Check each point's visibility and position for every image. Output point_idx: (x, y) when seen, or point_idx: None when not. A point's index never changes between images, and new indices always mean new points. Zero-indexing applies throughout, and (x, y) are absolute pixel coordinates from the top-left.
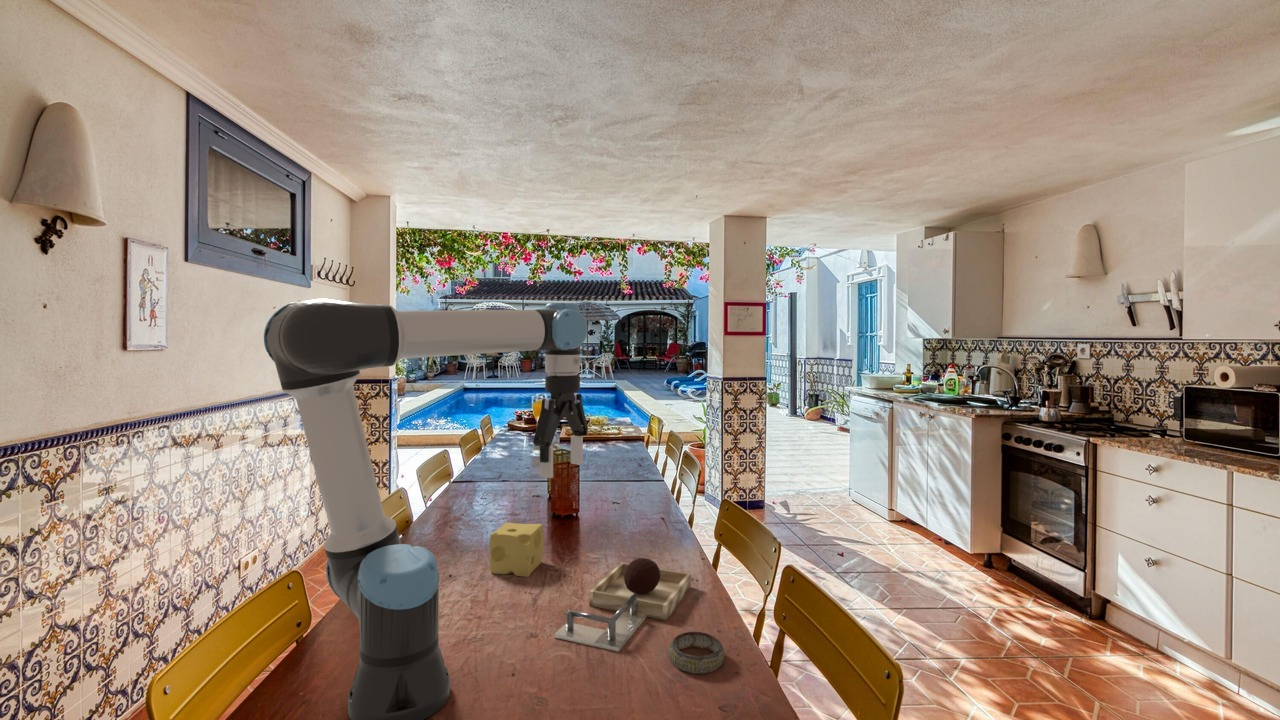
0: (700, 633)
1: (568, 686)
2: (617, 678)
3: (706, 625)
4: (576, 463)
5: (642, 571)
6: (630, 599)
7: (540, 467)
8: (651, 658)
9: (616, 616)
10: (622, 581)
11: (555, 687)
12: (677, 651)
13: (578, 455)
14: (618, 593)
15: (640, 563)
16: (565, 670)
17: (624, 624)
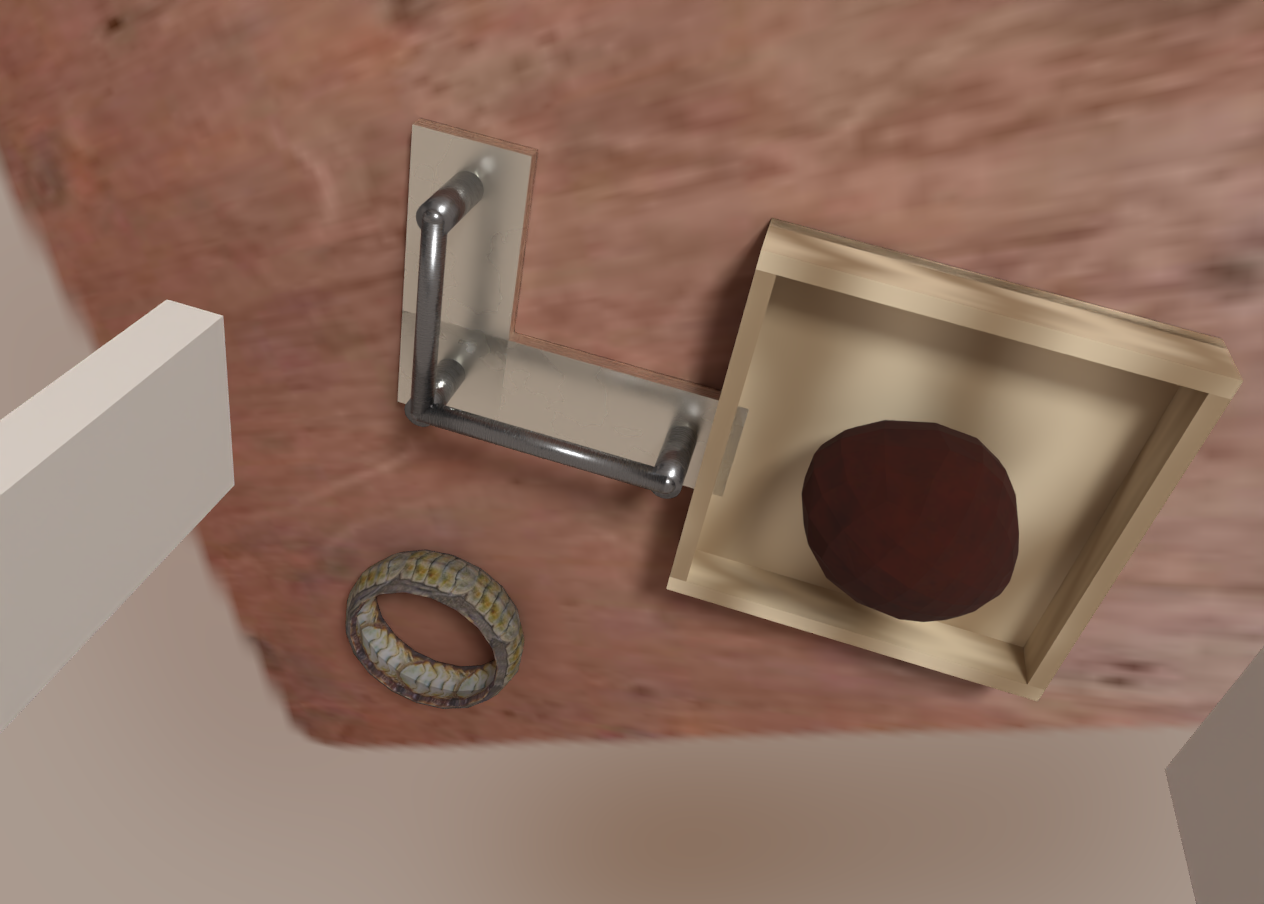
0: (496, 666)
1: (150, 256)
2: (258, 401)
3: (672, 663)
4: (1218, 721)
5: (821, 558)
6: (614, 477)
7: (60, 388)
8: (405, 495)
9: (448, 429)
10: (1063, 366)
11: (125, 213)
12: (359, 598)
13: (1231, 887)
14: (892, 359)
15: (864, 567)
16: (225, 225)
17: (574, 409)
